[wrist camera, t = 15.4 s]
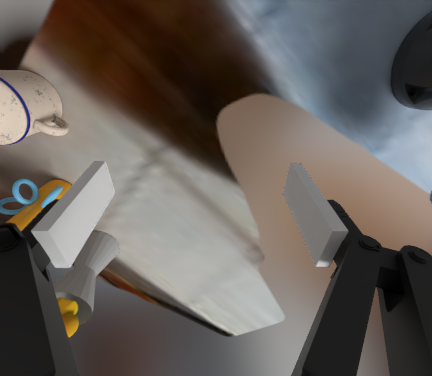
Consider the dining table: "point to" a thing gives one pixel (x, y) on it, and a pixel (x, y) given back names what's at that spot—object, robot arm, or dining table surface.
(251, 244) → the dining table surface
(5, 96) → the teacup with lid
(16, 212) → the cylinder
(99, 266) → the lava lamp
